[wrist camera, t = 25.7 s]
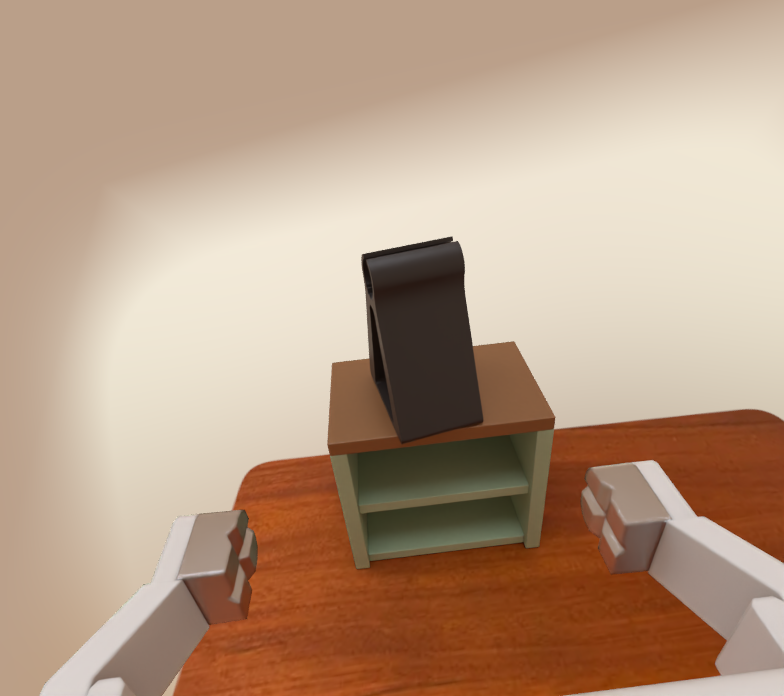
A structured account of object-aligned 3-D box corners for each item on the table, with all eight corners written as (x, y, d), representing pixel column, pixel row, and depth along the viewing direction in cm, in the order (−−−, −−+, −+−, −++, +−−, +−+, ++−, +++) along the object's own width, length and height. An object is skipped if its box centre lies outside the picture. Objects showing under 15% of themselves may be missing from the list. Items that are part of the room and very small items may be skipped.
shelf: (356, 569, 41) (327, 444, 33) (355, 479, 49) (332, 362, 41) (539, 547, 41) (555, 417, 33) (507, 461, 50) (514, 340, 41)
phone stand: (483, 424, 33) (485, 264, 26) (401, 446, 32) (382, 286, 25) (438, 356, 40) (431, 218, 34) (370, 373, 39) (349, 233, 33)
